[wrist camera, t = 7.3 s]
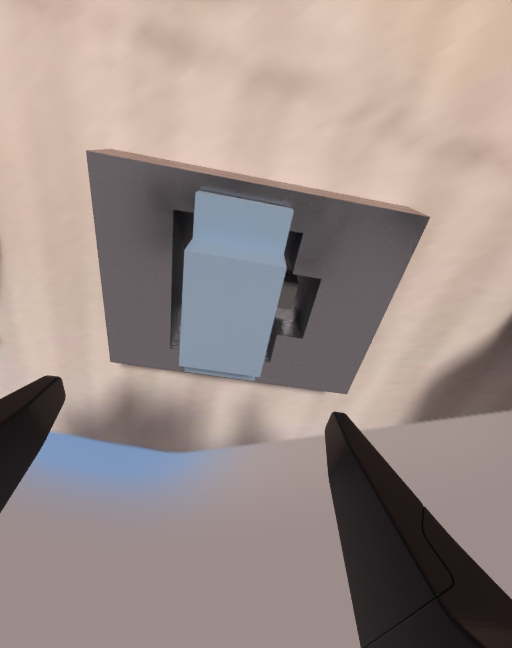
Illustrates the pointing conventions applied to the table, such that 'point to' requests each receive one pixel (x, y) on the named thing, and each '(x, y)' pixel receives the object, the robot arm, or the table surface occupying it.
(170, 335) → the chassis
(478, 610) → the robot arm
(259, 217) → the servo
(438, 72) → the table surface
